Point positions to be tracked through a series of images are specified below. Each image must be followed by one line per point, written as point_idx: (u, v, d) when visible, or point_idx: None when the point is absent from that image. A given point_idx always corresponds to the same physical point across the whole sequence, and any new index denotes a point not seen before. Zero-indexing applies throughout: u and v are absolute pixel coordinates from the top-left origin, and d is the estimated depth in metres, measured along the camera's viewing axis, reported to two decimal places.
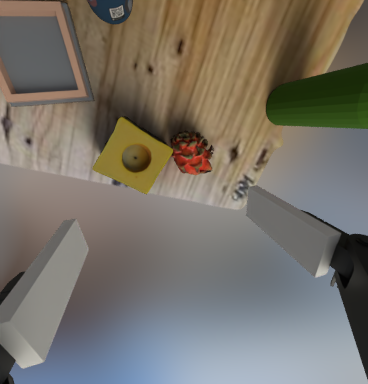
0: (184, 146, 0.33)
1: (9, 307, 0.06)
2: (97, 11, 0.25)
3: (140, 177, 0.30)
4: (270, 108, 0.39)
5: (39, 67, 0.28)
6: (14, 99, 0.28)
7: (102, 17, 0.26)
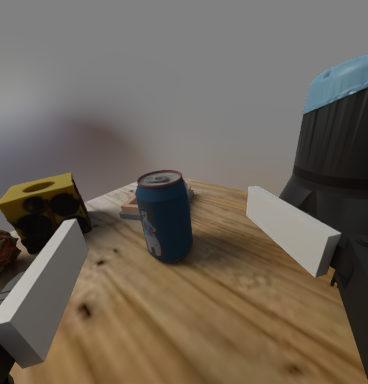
0: None
1: (9, 307, 0.06)
2: None
3: (26, 185, 0.31)
4: None
5: None
6: None
7: None
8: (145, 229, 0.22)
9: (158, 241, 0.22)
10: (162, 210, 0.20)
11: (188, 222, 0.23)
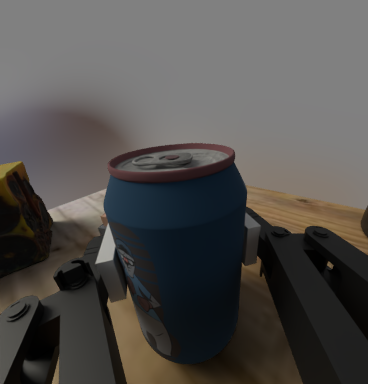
0: None
1: (107, 253, 0.08)
2: None
3: None
4: None
5: None
6: None
7: None
8: (131, 292, 0.09)
9: (165, 328, 0.08)
10: (183, 256, 0.06)
11: (240, 271, 0.09)
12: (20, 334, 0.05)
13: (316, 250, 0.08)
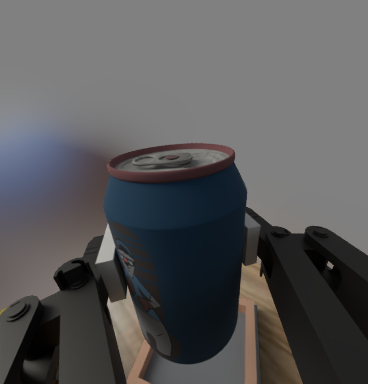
0: None
1: (107, 252, 0.08)
2: None
3: None
4: None
5: None
6: None
7: None
8: (131, 292, 0.09)
9: (164, 328, 0.08)
10: (183, 256, 0.06)
11: (240, 271, 0.09)
12: (20, 334, 0.05)
13: (316, 250, 0.08)
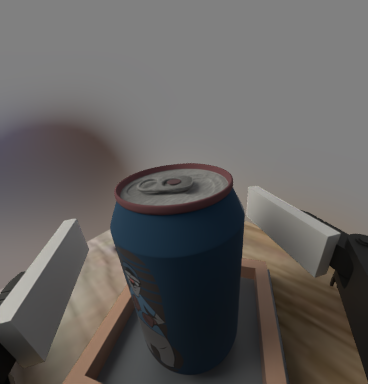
0: None
1: (9, 307, 0.06)
2: None
3: None
4: None
5: None
6: None
7: None
8: (136, 308, 0.09)
9: (168, 342, 0.09)
10: (186, 280, 0.07)
11: (239, 286, 0.10)
12: None
13: None
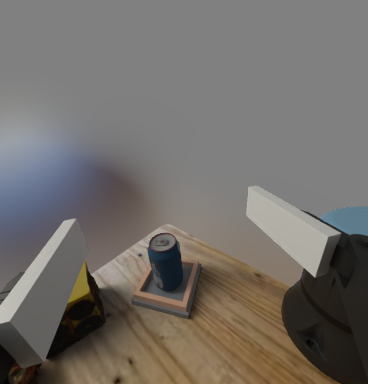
0: None
1: (9, 307, 0.06)
2: None
3: None
4: None
5: None
6: None
7: None
8: (153, 272, 0.37)
9: (161, 280, 0.36)
10: (164, 264, 0.34)
11: (180, 267, 0.37)
12: None
13: None
